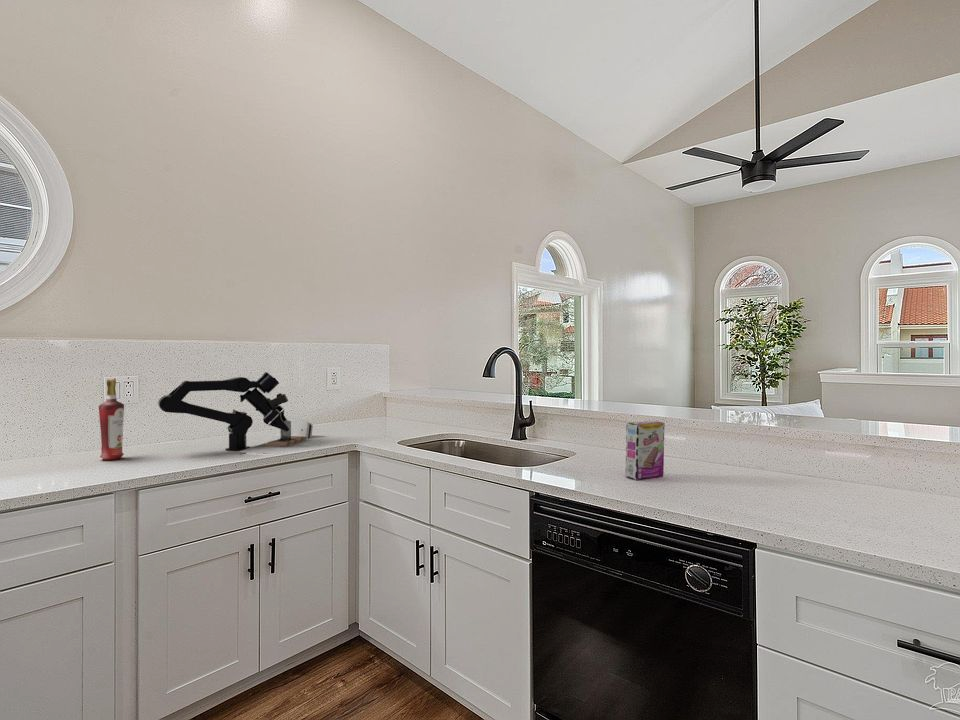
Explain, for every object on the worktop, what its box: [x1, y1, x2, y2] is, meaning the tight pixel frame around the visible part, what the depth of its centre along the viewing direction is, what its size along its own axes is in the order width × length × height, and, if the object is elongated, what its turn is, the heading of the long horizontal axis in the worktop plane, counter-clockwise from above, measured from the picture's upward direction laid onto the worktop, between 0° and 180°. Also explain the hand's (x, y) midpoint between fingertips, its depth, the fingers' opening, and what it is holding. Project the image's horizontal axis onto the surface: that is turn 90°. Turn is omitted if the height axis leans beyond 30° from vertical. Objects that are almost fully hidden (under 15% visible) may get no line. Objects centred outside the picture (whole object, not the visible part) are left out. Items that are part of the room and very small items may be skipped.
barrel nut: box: [280, 421, 291, 441], centre depth 209 cm, size 4×4×10 cm
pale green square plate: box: [298, 441, 328, 447], centre depth 209 cm, size 8×8×1 cm
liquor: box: [98, 378, 125, 461], centre depth 184 cm, size 7×7×28 cm
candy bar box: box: [625, 420, 665, 481], centre depth 156 cm, size 11×5×16 cm, turn 118°
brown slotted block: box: [266, 436, 307, 448], centre depth 210 cm, size 16×8×3 cm, turn 171°
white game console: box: [273, 418, 314, 440], centre depth 226 cm, size 17×5×10 cm, turn 68°
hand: (289, 428), depth 210 cm, fingers open, 9 cm apart
